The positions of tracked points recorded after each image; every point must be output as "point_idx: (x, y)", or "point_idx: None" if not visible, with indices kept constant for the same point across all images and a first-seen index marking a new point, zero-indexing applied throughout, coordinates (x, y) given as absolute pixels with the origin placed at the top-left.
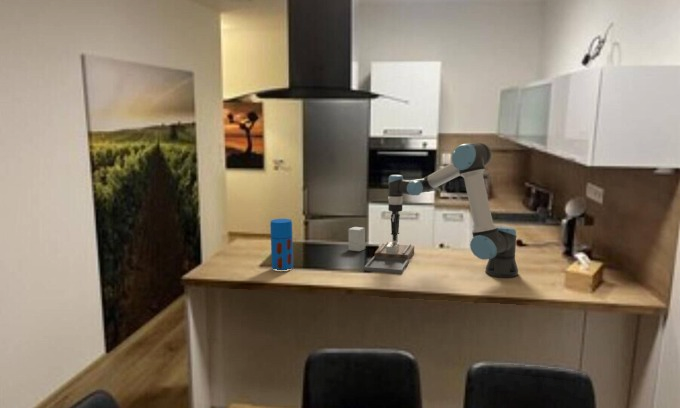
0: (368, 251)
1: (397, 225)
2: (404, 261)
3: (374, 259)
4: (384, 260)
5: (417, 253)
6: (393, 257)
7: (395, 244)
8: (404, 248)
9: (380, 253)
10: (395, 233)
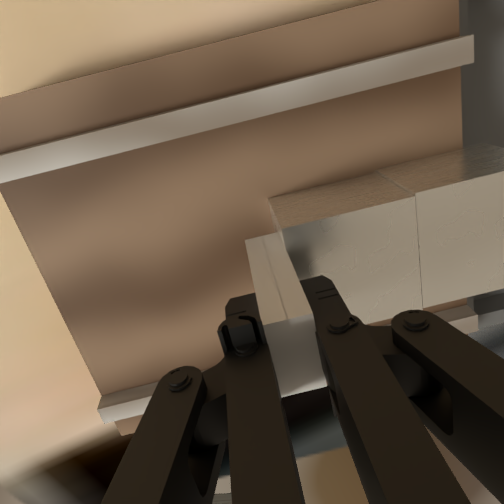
0: (228, 449)
1: (299, 489)
2: None
3: (480, 302)
4: None
5: (7, 49)
6: None
7: (401, 225)
8: (173, 166)
9: (464, 299)
10: (443, 327)
